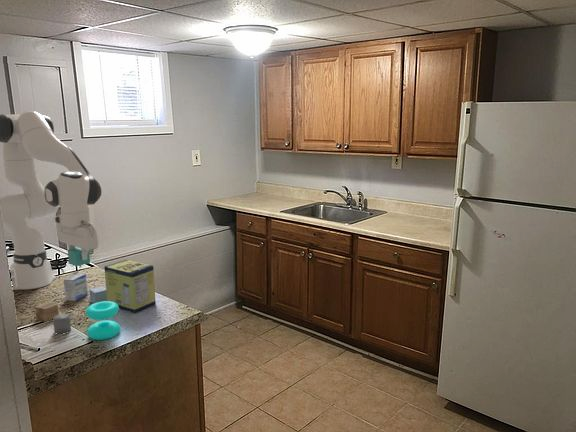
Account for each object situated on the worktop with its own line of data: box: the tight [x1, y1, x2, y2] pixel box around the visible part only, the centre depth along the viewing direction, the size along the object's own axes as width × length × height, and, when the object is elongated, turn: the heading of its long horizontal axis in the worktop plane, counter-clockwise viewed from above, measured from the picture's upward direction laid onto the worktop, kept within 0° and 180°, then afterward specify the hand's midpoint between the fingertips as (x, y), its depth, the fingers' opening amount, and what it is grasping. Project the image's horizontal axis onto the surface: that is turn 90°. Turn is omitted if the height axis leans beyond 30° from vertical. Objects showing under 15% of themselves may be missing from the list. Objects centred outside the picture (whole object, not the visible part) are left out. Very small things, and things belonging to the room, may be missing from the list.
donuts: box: [85, 301, 121, 341], centre depth 149 cm, size 10×10×10 cm
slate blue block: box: [89, 286, 107, 304], centre depth 177 cm, size 5×5×5 cm
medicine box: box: [63, 273, 89, 302], centre depth 181 cm, size 8×4×9 cm, turn 168°
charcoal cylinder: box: [52, 313, 72, 335], centre depth 152 cm, size 5×5×5 cm
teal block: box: [67, 247, 91, 267], centre depth 160 cm, size 5×5×5 cm
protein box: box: [104, 259, 157, 314], centre depth 173 cm, size 10×16×16 cm
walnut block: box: [34, 301, 59, 323], centre depth 162 cm, size 5×5×5 cm
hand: (79, 257), depth 160 cm, fingers closed on teal block, 5 cm apart
